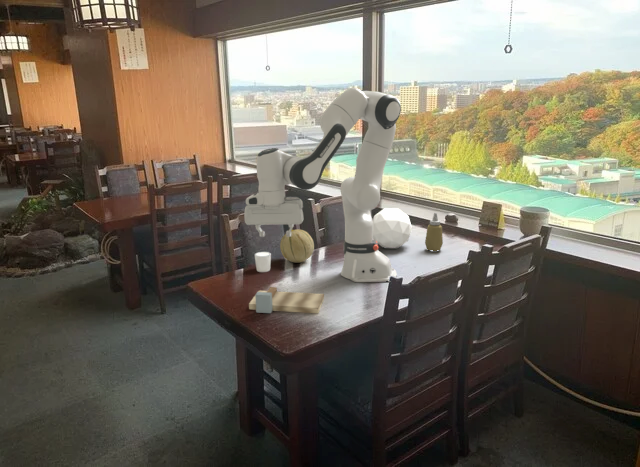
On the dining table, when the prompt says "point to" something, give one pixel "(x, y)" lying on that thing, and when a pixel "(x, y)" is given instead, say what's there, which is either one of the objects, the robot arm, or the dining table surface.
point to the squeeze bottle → (434, 234)
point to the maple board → (294, 302)
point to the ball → (391, 228)
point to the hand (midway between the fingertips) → (275, 236)
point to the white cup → (263, 261)
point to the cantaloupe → (297, 246)
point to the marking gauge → (265, 300)
